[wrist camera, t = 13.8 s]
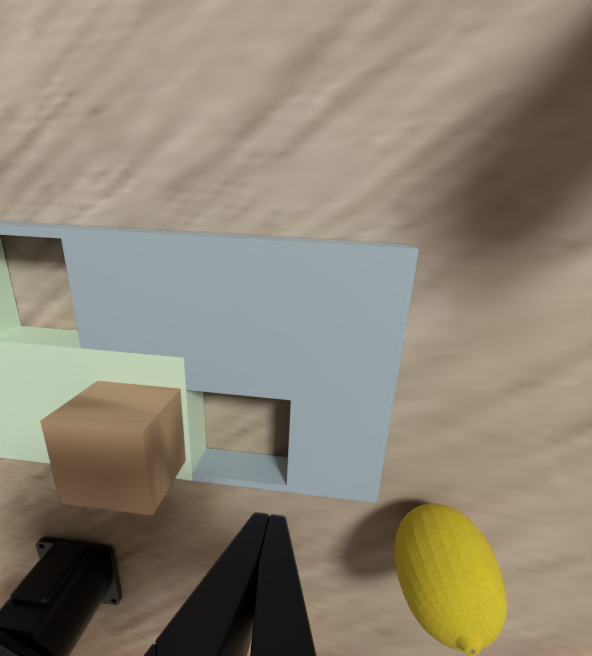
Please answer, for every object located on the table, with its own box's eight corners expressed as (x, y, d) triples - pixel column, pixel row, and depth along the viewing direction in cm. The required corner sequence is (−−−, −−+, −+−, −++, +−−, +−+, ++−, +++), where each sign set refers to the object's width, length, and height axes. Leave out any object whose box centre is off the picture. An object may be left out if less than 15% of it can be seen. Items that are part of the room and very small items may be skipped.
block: (185, 460, 20) (152, 515, 17) (109, 451, 21) (60, 503, 17) (180, 388, 19) (142, 432, 15) (97, 380, 19) (40, 421, 15)
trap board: (372, 472, 22) (377, 510, 20) (3, 430, 25) (-40, 458, 22) (407, 244, 17) (421, 249, 15) (-58, 217, 20) (-123, 218, 17)
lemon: (472, 534, 23) (540, 688, 16) (392, 541, 24) (419, 689, 17) (464, 471, 22) (536, 608, 14) (379, 481, 23) (402, 615, 15)
